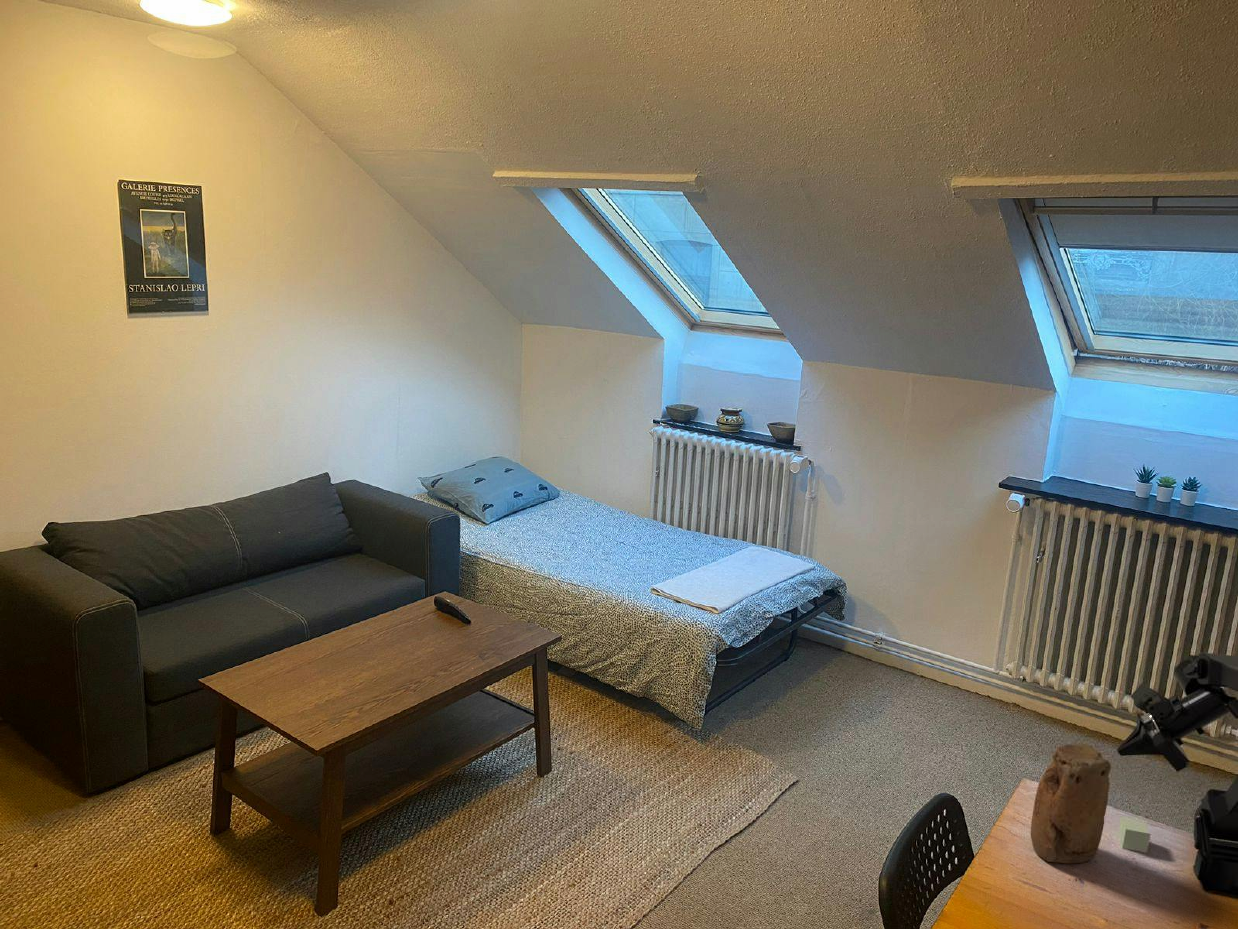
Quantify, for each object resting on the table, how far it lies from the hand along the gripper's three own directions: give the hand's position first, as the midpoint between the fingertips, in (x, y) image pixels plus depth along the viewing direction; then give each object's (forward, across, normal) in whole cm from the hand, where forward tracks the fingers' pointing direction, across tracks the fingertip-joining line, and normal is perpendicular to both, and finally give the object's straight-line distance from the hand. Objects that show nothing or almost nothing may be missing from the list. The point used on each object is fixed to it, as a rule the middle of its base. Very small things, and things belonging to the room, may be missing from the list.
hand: (1118, 752), depth 173 cm
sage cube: (+7, +9, +11) cm, 16 cm away
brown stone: (+16, +16, +2) cm, 23 cm away
